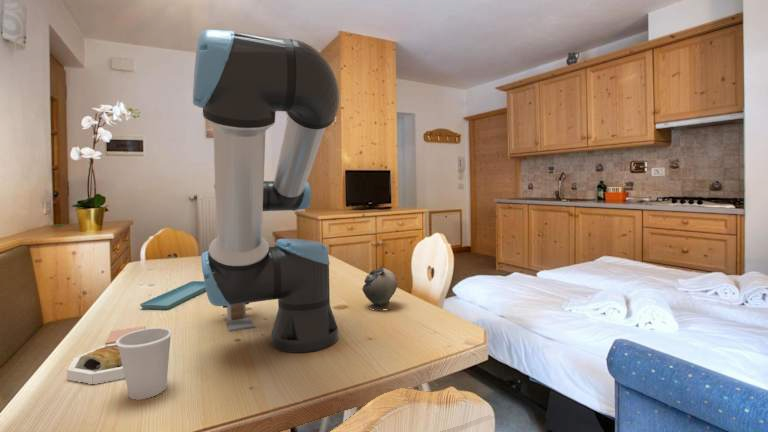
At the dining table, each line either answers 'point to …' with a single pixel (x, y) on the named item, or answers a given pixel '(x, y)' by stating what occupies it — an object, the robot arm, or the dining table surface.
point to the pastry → (101, 359)
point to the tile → (120, 334)
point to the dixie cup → (145, 361)
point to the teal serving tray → (175, 296)
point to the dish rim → (93, 376)
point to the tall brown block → (239, 319)
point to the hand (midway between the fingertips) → (236, 317)
